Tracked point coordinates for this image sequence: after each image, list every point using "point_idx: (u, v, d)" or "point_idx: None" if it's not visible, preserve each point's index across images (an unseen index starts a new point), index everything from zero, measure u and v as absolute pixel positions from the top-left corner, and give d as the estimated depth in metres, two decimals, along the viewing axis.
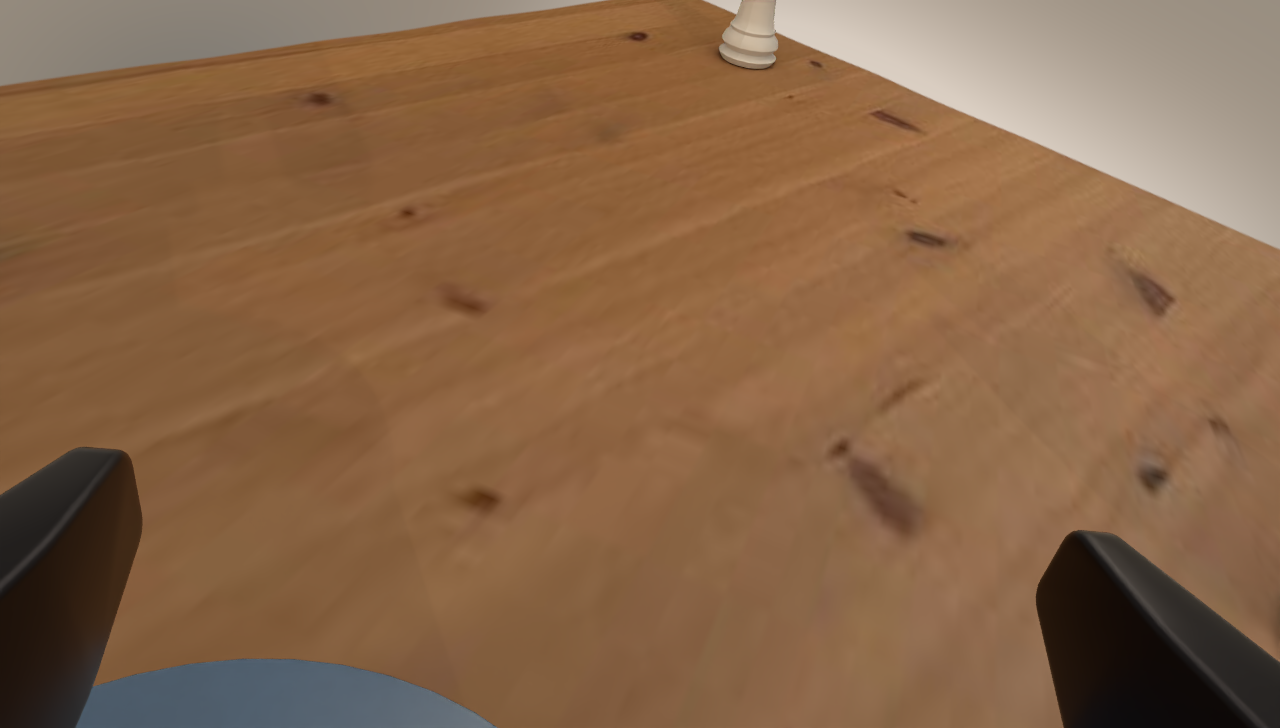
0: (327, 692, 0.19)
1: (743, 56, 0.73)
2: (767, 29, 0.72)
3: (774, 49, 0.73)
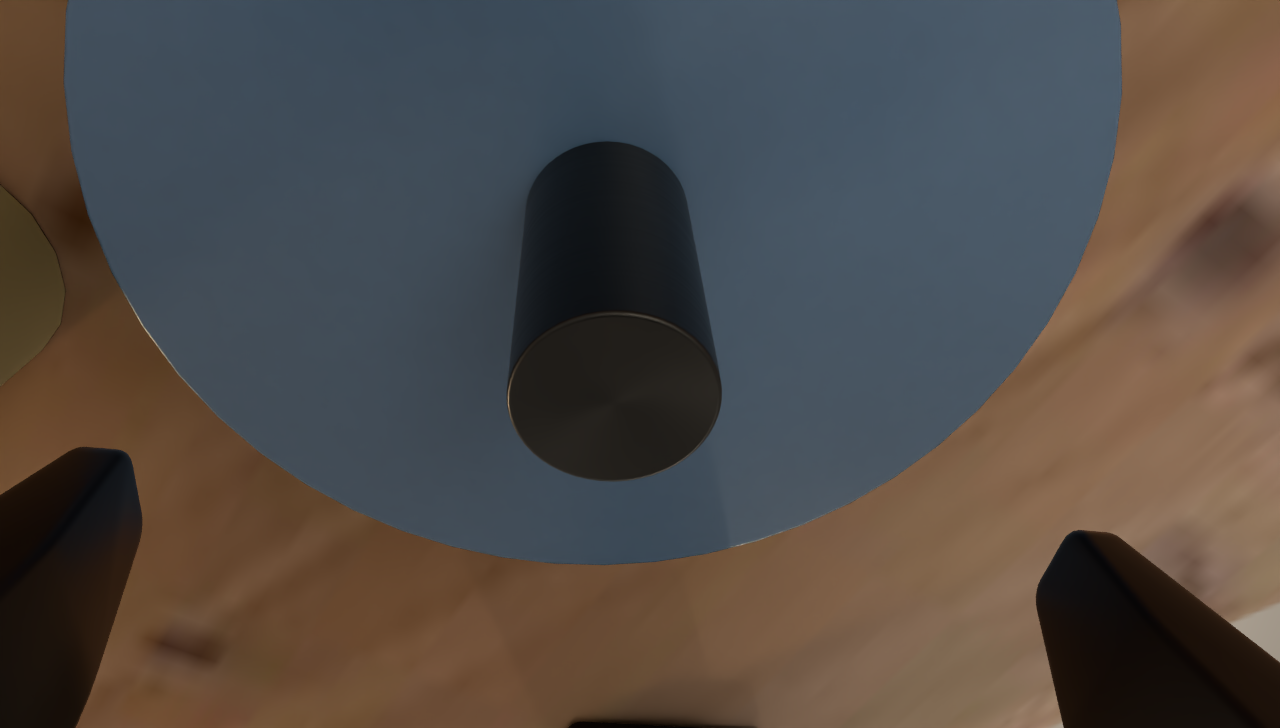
0: None
1: None
2: None
3: None
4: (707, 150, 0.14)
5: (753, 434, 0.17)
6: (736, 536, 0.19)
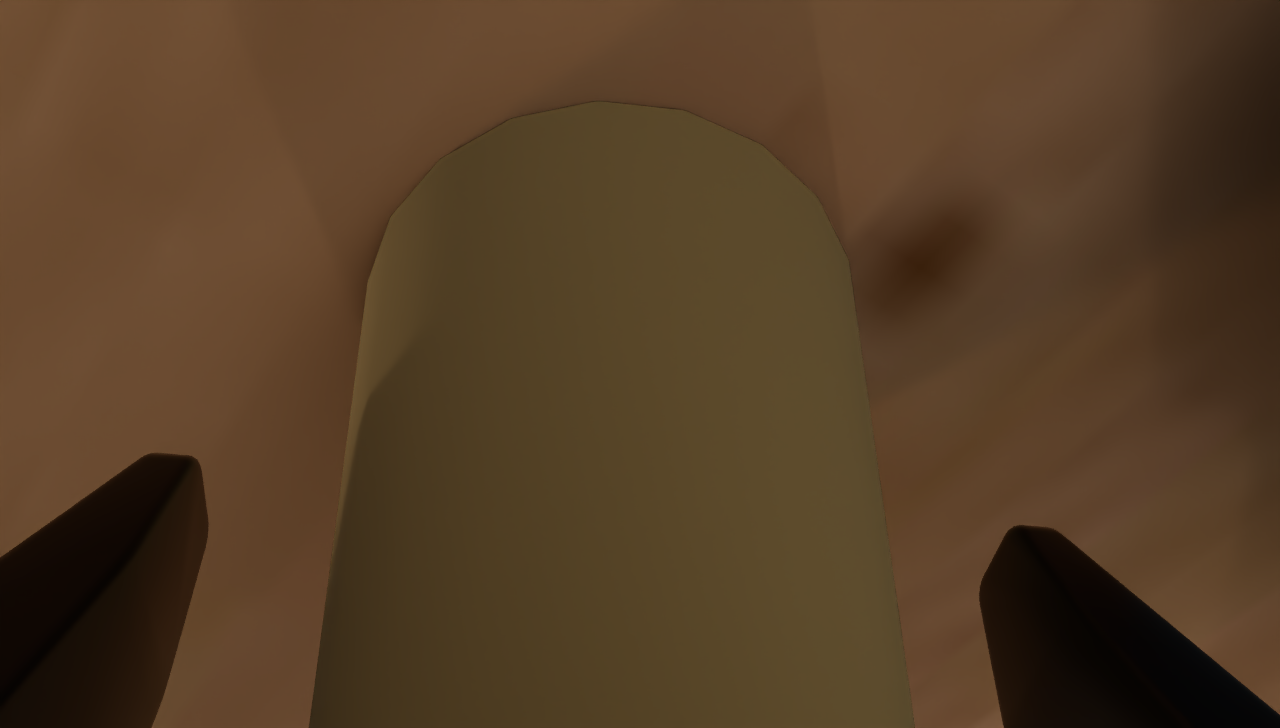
0: None
1: None
2: None
3: None
4: None
5: None
6: None
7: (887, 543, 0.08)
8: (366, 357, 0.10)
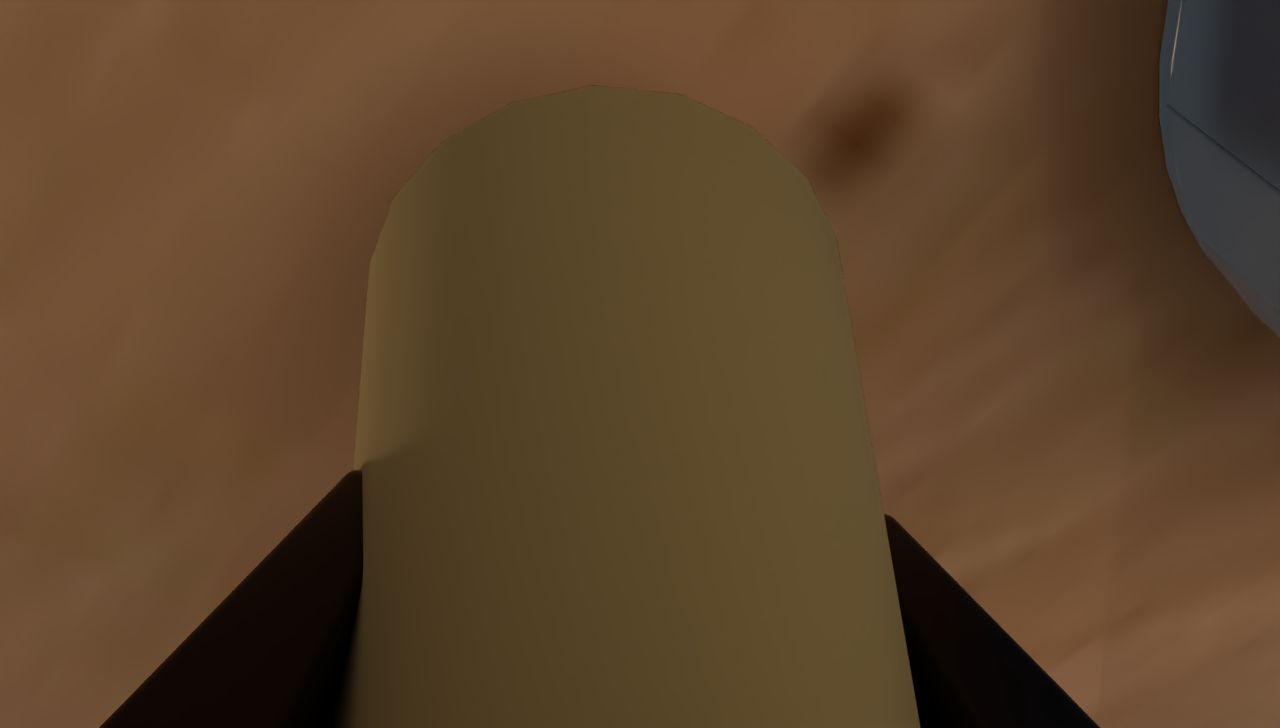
0: None
1: None
2: None
3: None
4: None
5: None
6: None
7: (880, 503, 0.09)
8: (374, 335, 0.10)
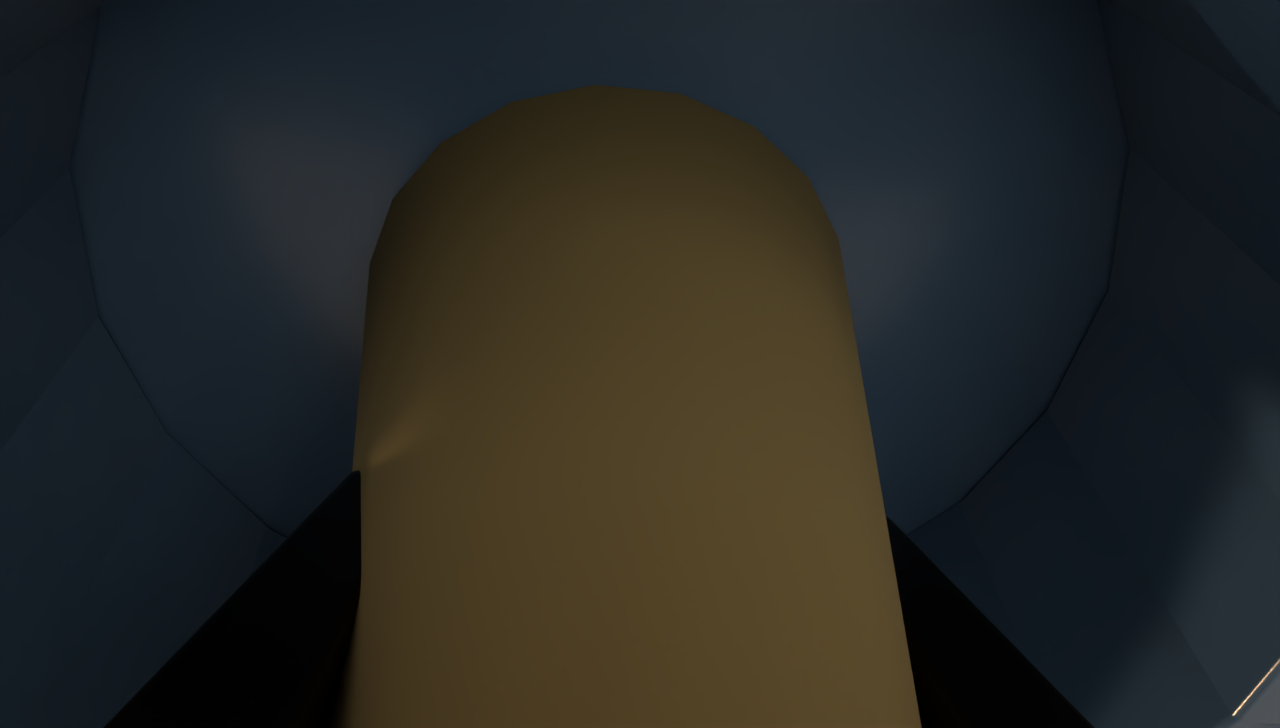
0: None
1: None
2: None
3: None
4: None
5: None
6: None
7: (882, 505, 0.08)
8: (374, 335, 0.10)
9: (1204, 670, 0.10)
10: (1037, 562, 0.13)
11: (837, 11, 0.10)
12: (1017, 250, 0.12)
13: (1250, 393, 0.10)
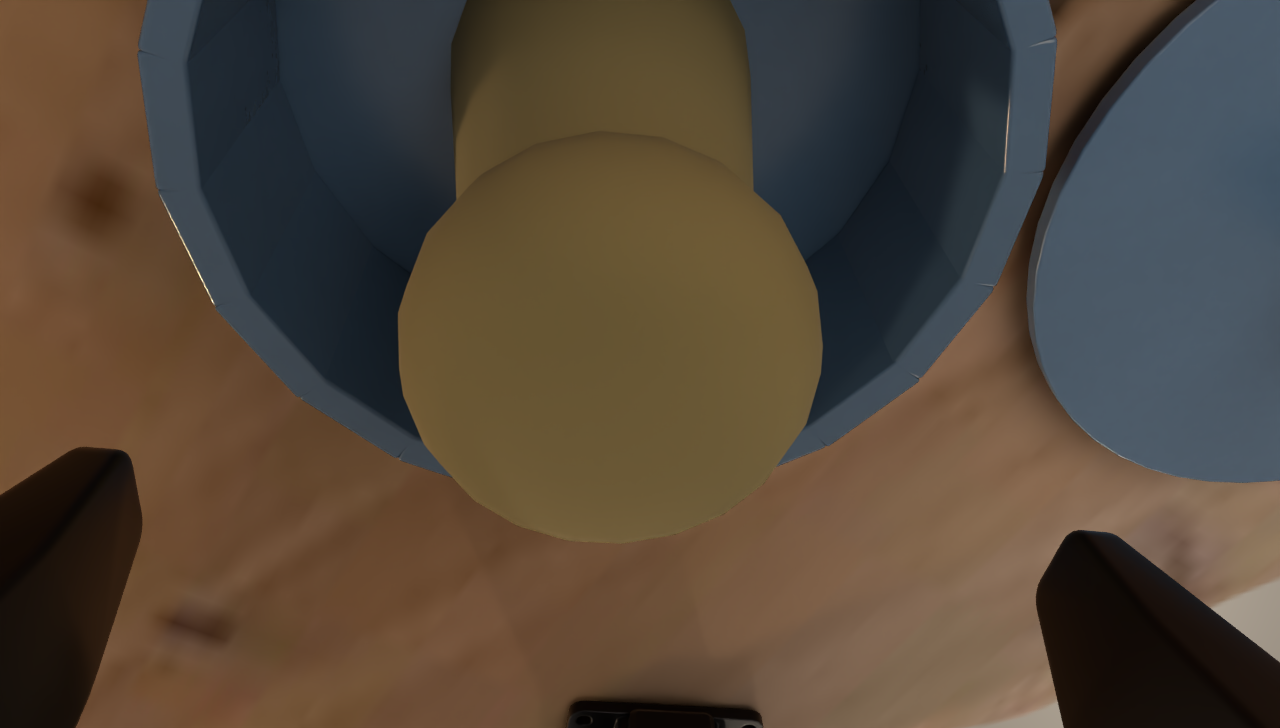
0: None
1: None
2: None
3: None
4: None
5: None
6: None
7: (746, 127, 0.16)
8: (462, 60, 0.17)
9: (950, 262, 0.17)
10: (876, 247, 0.20)
11: None
12: (859, 39, 0.19)
13: (968, 89, 0.17)
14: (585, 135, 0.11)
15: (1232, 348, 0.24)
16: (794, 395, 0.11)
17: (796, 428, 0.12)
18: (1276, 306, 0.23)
